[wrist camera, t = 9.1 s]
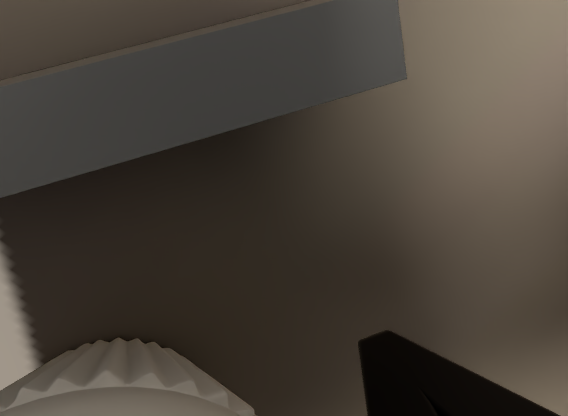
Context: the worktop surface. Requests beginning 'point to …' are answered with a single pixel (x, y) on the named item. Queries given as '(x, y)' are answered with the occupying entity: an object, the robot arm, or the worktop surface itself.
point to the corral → (192, 87)
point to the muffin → (120, 385)
